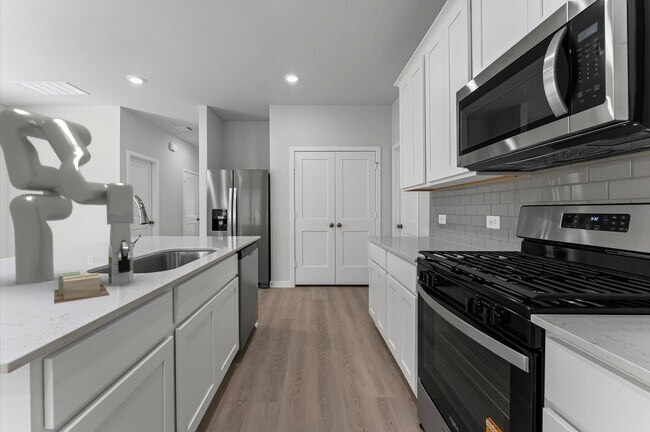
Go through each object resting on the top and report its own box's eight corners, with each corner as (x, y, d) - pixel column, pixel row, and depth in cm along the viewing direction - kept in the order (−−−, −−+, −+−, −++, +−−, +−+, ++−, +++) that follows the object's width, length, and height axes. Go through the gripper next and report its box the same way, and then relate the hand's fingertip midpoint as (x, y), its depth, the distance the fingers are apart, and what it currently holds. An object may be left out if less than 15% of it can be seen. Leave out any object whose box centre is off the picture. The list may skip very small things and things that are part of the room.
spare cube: (58, 289, 93) (58, 273, 93) (79, 286, 96) (79, 271, 96) (58, 293, 89) (58, 276, 89) (80, 290, 92) (80, 273, 92)
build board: (54, 294, 93) (54, 290, 93) (102, 288, 101) (102, 283, 101) (54, 309, 79) (53, 303, 79) (109, 300, 87) (109, 294, 87)
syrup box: (114, 285, 104) (113, 243, 104) (134, 284, 106) (133, 242, 106) (108, 289, 99) (107, 245, 98) (128, 288, 101) (128, 244, 100)
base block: (63, 293, 89) (62, 276, 89) (97, 288, 94) (96, 272, 94) (63, 299, 83) (63, 281, 83) (100, 294, 88) (99, 277, 88)
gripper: (103, 219, 106) (105, 268, 106) (110, 220, 93) (111, 275, 93) (129, 219, 111) (130, 265, 111) (138, 219, 98) (139, 272, 98)
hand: (121, 270), depth 102 cm, fingers open, 9 cm apart
